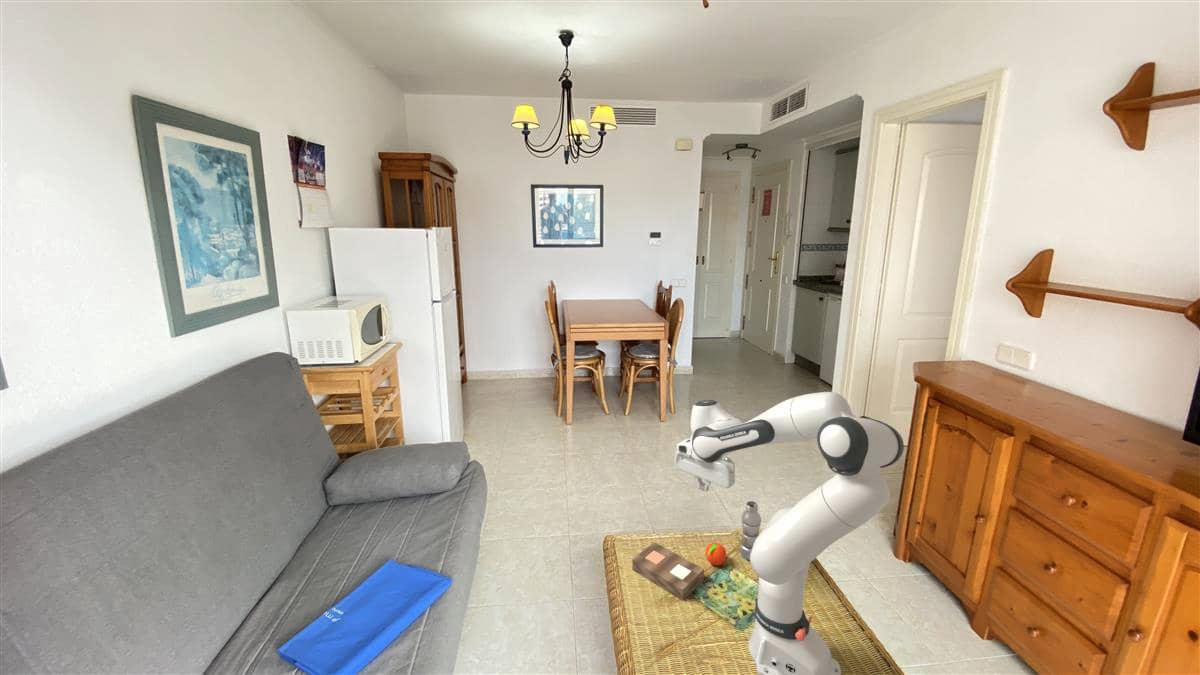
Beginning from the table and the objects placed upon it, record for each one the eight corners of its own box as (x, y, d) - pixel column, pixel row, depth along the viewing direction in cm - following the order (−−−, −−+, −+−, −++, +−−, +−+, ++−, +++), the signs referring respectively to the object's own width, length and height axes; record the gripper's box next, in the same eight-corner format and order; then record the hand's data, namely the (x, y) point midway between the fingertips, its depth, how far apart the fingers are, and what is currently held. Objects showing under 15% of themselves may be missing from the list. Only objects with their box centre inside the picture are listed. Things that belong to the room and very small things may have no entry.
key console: (703, 579, 154) (704, 569, 153) (682, 600, 145) (682, 589, 144) (654, 552, 167) (654, 542, 166) (632, 569, 159) (632, 559, 158)
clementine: (715, 574, 156) (716, 555, 154) (698, 563, 161) (699, 545, 159) (730, 563, 161) (731, 544, 159) (713, 553, 166) (713, 535, 165)
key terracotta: (665, 564, 160) (665, 556, 159) (656, 571, 156) (656, 564, 155) (653, 557, 163) (653, 550, 162) (644, 564, 159) (644, 557, 159)
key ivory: (691, 578, 153) (691, 571, 152) (682, 587, 149) (682, 579, 149) (678, 571, 156) (678, 563, 156) (669, 579, 153) (669, 571, 152)
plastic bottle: (739, 561, 162) (741, 508, 157) (739, 548, 168) (742, 497, 163) (759, 564, 160) (762, 511, 155) (759, 551, 166) (762, 500, 162)
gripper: (740, 456, 144) (738, 497, 147) (683, 437, 158) (682, 475, 161) (729, 464, 140) (727, 506, 143) (672, 443, 154) (671, 482, 157)
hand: (703, 489), depth 152 cm, fingers closed
